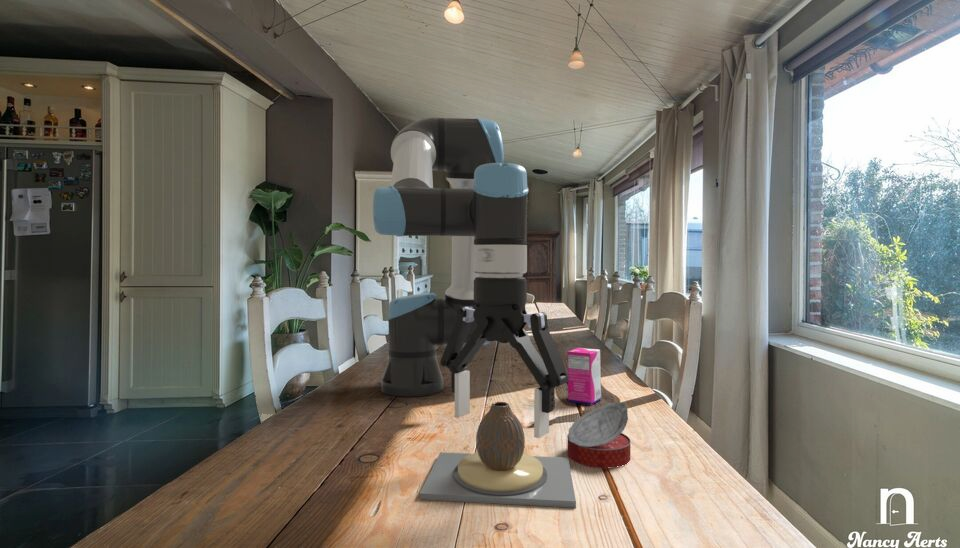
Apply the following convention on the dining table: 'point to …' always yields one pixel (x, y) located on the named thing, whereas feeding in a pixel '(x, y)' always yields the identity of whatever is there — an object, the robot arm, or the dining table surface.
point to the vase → (500, 438)
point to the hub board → (501, 481)
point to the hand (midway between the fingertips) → (499, 424)
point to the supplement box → (584, 375)
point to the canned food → (600, 437)
